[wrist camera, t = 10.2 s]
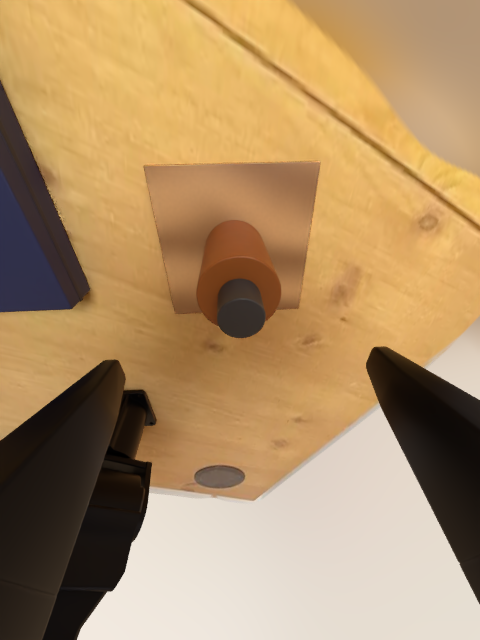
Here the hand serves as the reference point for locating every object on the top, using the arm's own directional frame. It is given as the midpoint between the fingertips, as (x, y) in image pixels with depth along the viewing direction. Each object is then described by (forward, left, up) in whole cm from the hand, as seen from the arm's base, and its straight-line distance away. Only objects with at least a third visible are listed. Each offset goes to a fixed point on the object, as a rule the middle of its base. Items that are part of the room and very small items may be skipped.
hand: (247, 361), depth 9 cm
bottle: (0, 0, -12) cm, 12 cm away
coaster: (0, 0, -12) cm, 12 cm away
